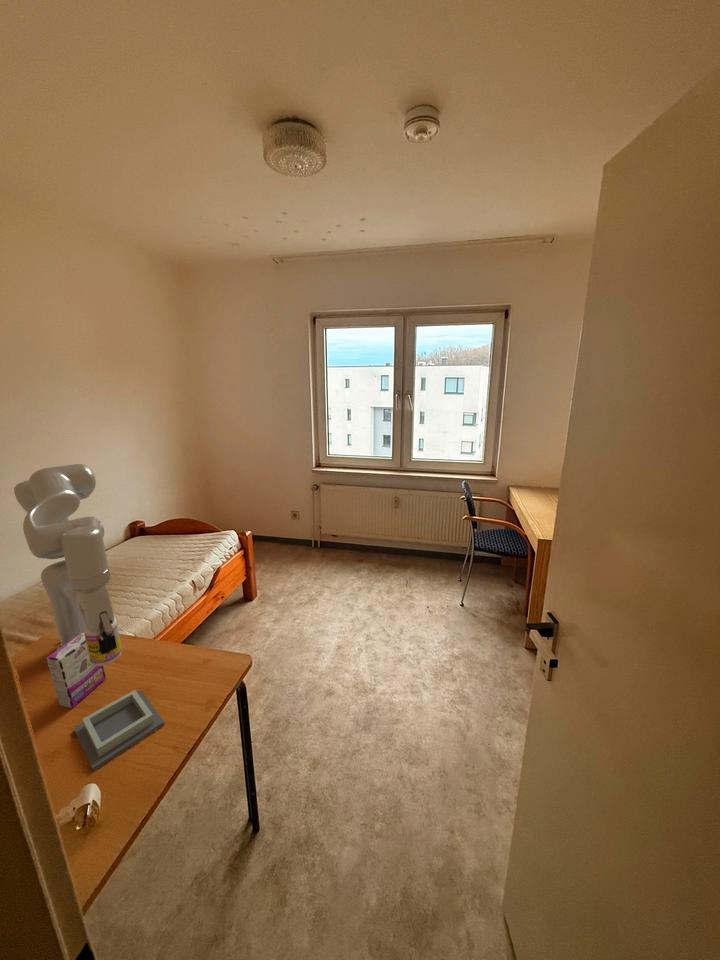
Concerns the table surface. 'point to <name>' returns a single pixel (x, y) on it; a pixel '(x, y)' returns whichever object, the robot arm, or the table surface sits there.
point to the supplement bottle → (94, 648)
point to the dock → (117, 727)
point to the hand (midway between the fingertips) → (103, 643)
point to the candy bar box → (74, 672)
